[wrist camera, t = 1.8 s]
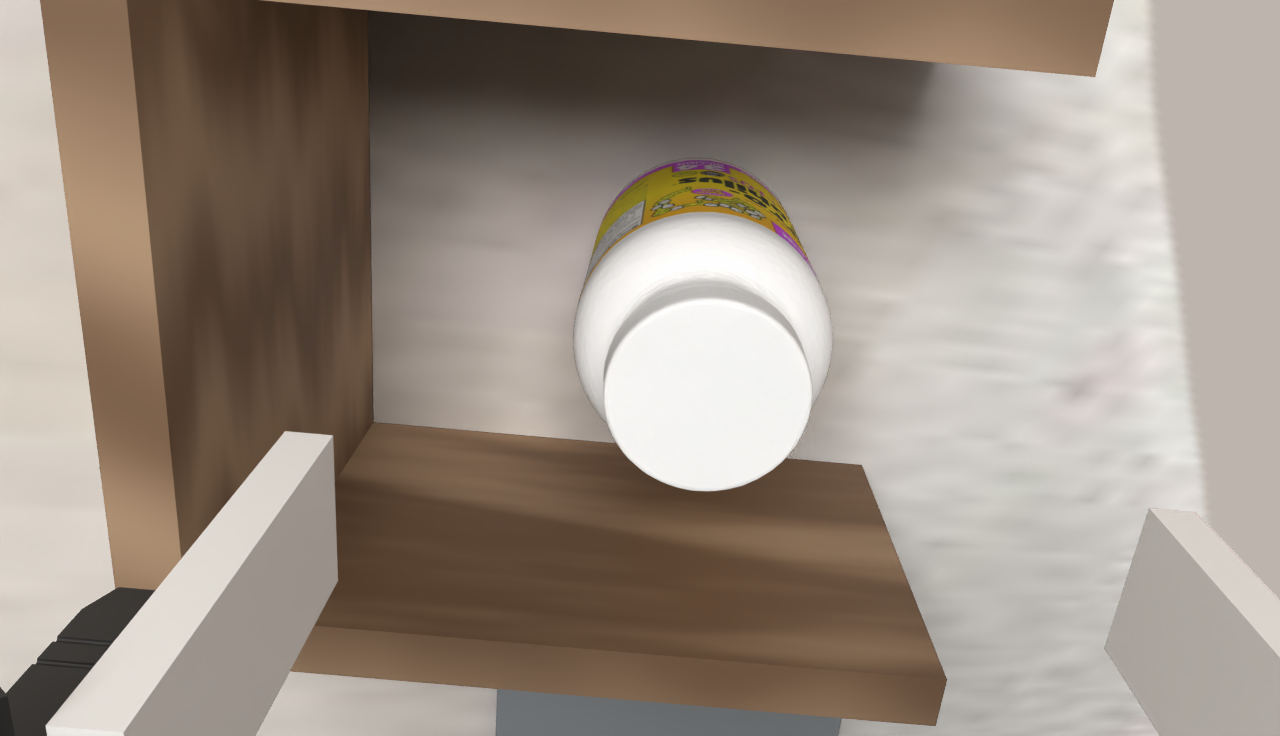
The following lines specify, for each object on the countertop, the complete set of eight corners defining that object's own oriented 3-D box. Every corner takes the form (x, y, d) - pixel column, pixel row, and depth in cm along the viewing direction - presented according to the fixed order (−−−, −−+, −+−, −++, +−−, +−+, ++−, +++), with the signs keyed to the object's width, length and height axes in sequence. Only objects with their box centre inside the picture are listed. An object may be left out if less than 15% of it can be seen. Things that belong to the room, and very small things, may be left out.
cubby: (854, 500, 37) (967, 815, 24) (333, 455, 37) (135, 745, 23) (951, -13, 31) (1188, 2, 17) (317, -71, 31) (26, -106, 17)
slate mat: (813, 843, 44) (814, 851, 43) (493, 817, 44) (492, 824, 43) (867, 571, 39) (869, 577, 38) (505, 540, 38) (503, 545, 38)
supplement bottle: (832, 235, 34) (925, 379, 22) (708, 377, 36) (731, 582, 24) (677, 110, 32) (684, 192, 20) (557, 266, 34) (499, 424, 22)
